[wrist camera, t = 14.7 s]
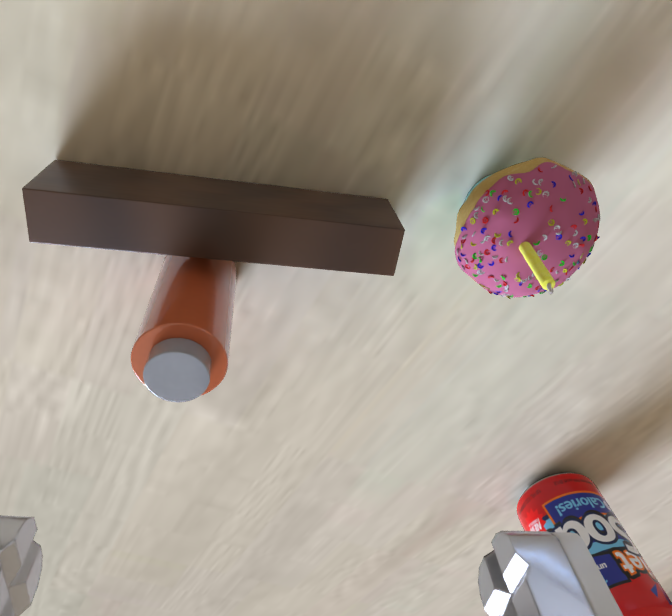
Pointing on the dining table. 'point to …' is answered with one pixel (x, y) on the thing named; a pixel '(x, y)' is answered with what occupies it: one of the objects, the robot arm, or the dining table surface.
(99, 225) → the wall
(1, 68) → the dining table surface
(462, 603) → the dining table surface
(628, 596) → the soda can
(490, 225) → the cupcake
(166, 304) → the capped bottle
